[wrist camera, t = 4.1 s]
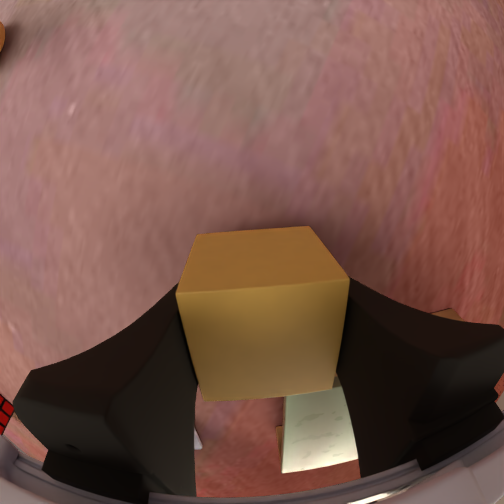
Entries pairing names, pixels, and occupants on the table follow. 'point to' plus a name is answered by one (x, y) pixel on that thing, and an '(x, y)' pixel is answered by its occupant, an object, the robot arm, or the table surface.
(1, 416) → the puzzle toy
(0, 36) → the figurine
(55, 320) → the table surface
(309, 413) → the green slab
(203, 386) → the cube
